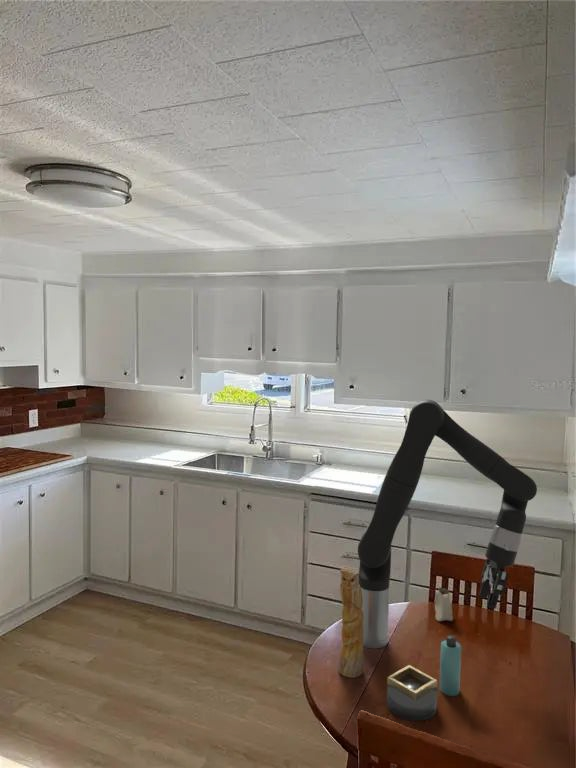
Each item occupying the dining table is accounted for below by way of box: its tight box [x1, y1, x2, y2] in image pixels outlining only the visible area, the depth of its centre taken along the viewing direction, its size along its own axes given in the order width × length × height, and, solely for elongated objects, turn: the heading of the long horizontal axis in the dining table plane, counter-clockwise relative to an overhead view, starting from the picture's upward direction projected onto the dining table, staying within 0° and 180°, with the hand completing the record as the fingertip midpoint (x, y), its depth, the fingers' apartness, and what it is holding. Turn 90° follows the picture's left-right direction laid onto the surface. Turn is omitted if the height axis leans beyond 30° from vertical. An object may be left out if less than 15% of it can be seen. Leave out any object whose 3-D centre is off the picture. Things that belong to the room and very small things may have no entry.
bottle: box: [439, 634, 462, 697], centre depth 149 cm, size 5×5×14 cm
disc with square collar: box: [386, 664, 438, 722], centre depth 143 cm, size 12×12×7 cm
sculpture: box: [338, 568, 364, 679], centre depth 155 cm, size 7×9×30 cm
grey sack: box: [433, 587, 454, 622], centre depth 189 cm, size 9×8×10 cm
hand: (486, 602), depth 158 cm, fingers open, 8 cm apart
